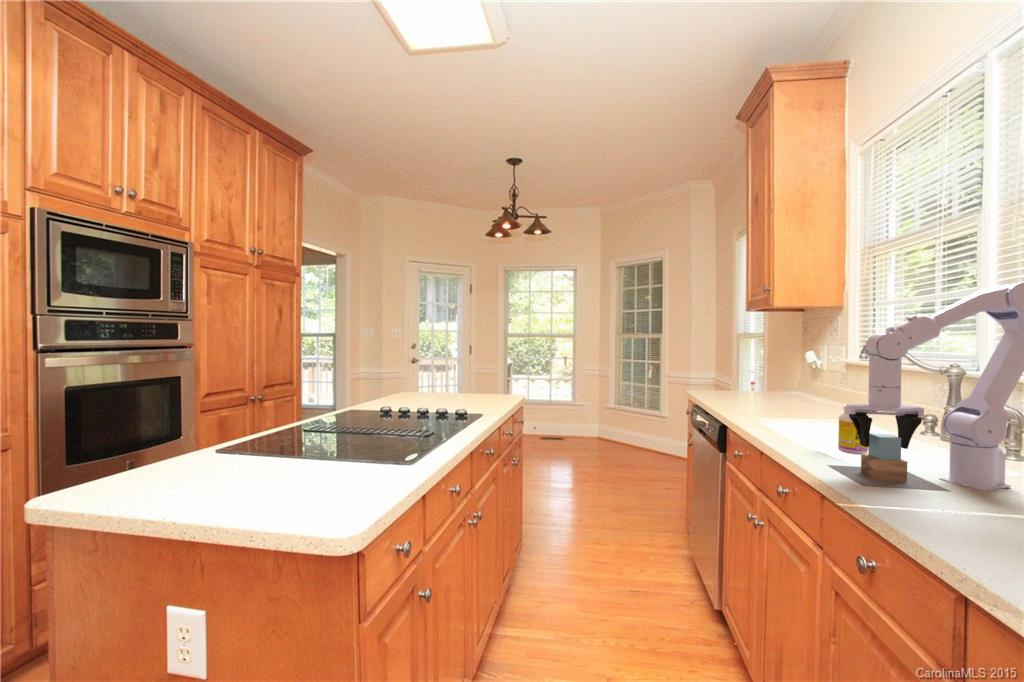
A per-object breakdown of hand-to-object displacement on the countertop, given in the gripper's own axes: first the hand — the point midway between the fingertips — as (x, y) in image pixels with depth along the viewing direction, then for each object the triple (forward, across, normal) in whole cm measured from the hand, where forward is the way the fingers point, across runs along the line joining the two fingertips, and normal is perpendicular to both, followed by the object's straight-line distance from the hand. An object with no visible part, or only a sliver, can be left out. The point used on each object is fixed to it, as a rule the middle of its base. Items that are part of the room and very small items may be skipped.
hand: (883, 446), depth 104 cm
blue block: (+2, 0, 0) cm, 2 cm away
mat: (+7, 0, 0) cm, 7 cm away
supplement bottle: (+7, +6, +26) cm, 27 cm away
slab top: (+5, 0, 0) cm, 5 cm away
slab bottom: (+7, 0, 0) cm, 7 cm away
